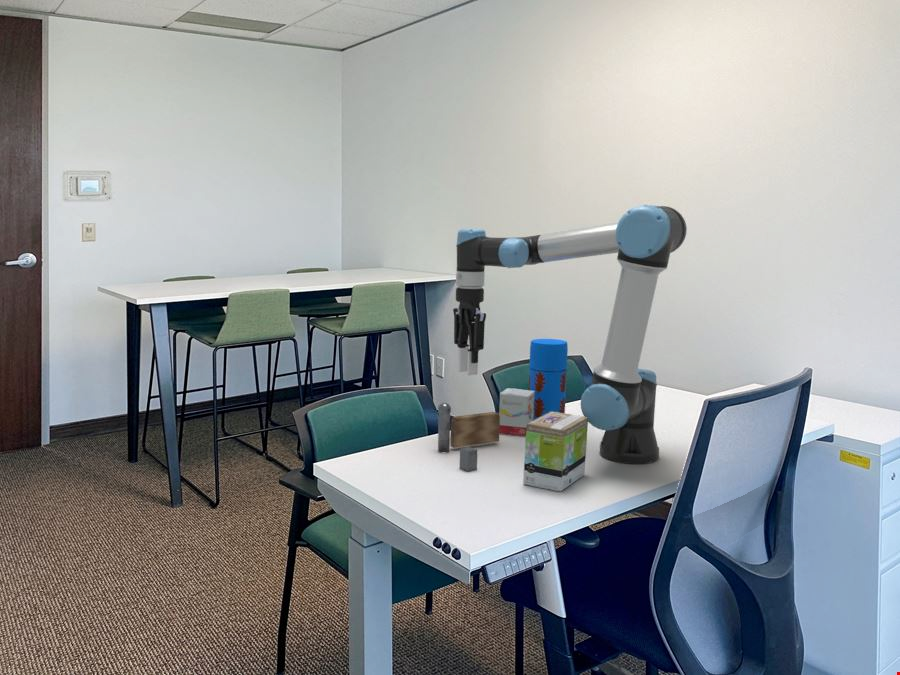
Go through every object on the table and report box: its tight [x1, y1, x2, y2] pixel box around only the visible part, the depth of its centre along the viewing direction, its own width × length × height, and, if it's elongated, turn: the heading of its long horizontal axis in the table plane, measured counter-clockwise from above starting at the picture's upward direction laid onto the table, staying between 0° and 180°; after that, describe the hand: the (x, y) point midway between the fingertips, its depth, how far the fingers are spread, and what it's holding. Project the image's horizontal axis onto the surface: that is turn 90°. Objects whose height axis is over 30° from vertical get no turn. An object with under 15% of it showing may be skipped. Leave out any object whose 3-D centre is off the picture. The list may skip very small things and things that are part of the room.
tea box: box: [522, 411, 589, 492], centre depth 191 cm, size 15×10×15 cm
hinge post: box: [437, 402, 452, 453], centre depth 212 cm, size 3×3×13 cm
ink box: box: [498, 387, 535, 437], centre depth 232 cm, size 9×9×12 cm
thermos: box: [528, 338, 569, 420], centre depth 239 cm, size 11×11×25 cm
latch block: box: [459, 446, 479, 473], centre depth 198 cm, size 3×3×5 cm
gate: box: [450, 411, 500, 449], centre depth 217 cm, size 14×2×8 cm, turn 119°
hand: (467, 372), depth 221 cm, fingers open, 4 cm apart
